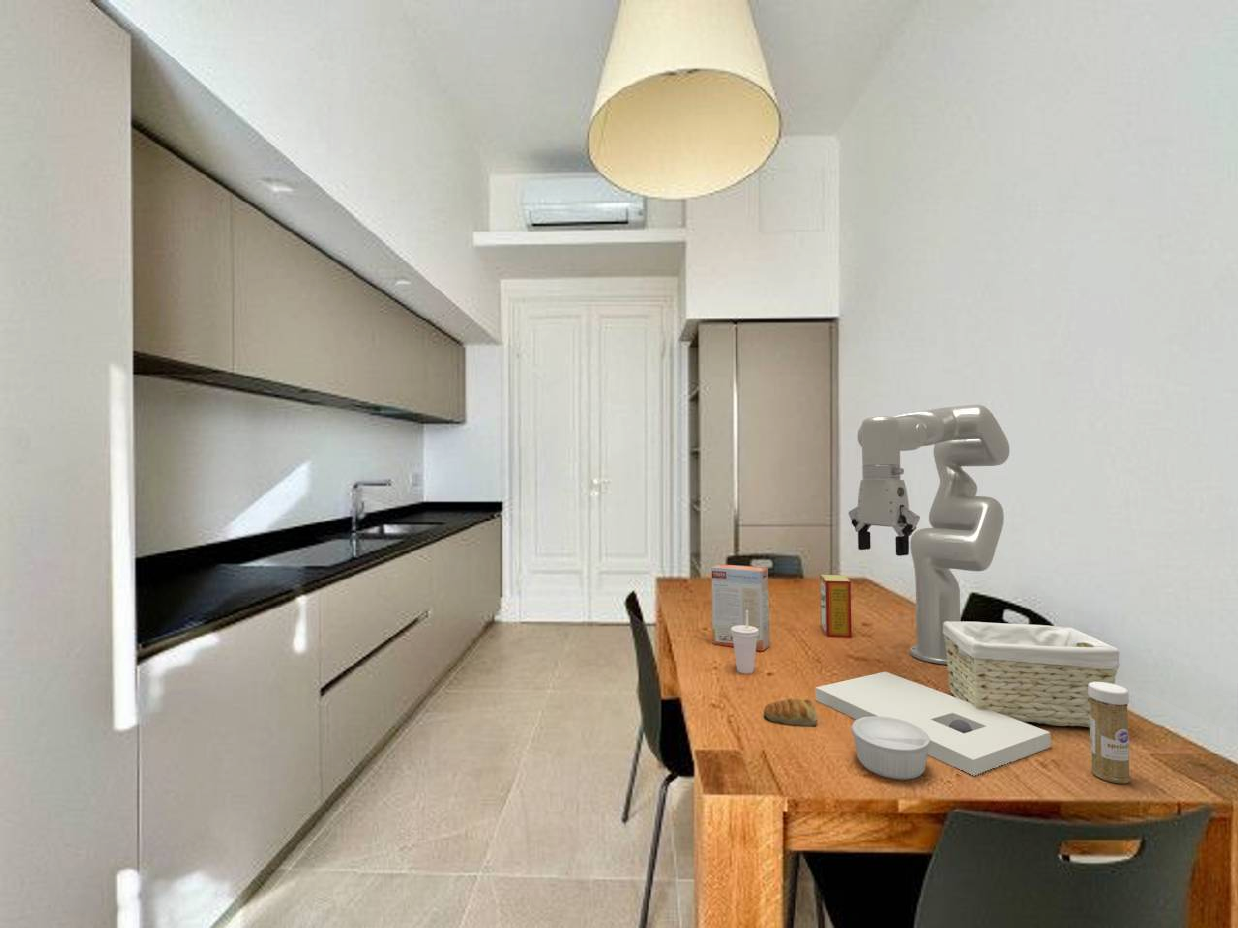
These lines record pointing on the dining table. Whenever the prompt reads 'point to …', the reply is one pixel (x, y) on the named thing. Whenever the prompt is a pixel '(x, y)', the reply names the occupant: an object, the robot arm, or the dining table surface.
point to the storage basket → (1027, 670)
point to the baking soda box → (835, 606)
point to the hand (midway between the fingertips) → (882, 552)
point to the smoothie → (745, 646)
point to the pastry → (792, 712)
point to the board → (938, 720)
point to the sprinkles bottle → (1109, 731)
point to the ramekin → (891, 747)
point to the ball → (960, 726)
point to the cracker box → (740, 602)
